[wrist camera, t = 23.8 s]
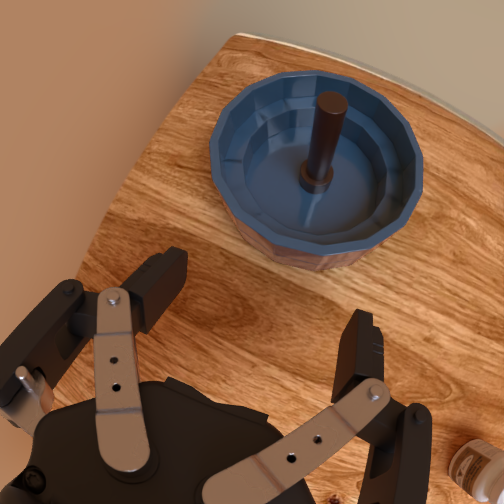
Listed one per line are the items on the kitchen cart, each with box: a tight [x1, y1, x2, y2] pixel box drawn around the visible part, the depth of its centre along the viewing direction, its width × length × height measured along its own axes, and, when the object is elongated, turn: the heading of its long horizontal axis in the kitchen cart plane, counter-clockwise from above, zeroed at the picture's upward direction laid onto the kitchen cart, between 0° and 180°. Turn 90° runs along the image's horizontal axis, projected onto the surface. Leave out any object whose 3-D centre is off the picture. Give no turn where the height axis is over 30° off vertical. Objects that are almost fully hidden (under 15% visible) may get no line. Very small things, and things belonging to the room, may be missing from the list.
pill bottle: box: [449, 439, 504, 504], centre depth 12 cm, size 4×4×8 cm
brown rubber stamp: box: [299, 91, 348, 194], centre depth 17 cm, size 2×2×9 cm
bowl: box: [209, 70, 423, 271], centre depth 20 cm, size 14×14×6 cm
